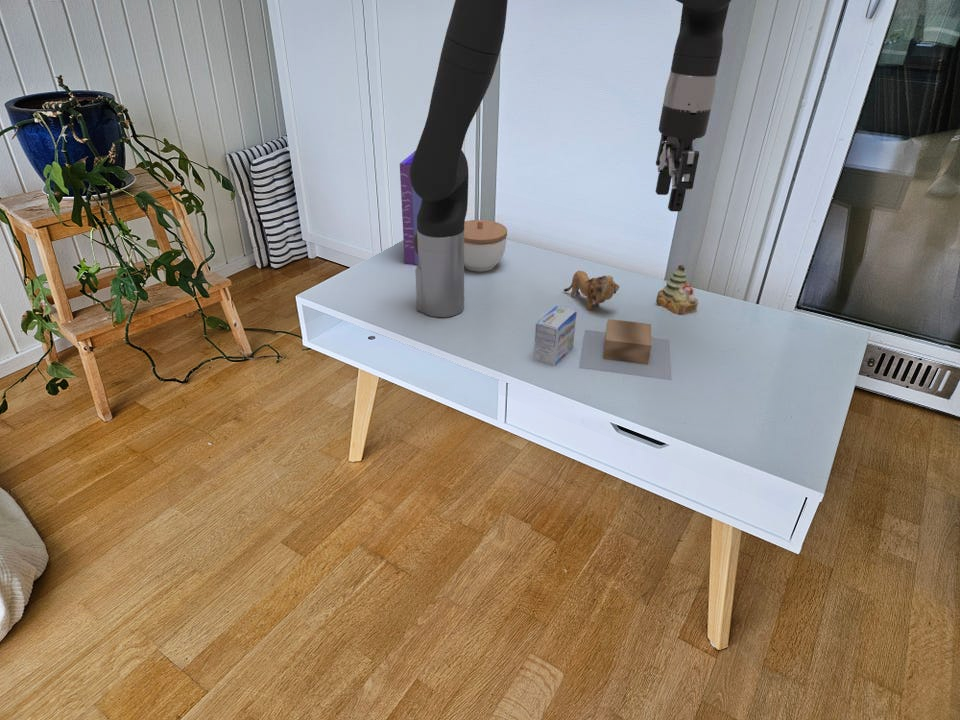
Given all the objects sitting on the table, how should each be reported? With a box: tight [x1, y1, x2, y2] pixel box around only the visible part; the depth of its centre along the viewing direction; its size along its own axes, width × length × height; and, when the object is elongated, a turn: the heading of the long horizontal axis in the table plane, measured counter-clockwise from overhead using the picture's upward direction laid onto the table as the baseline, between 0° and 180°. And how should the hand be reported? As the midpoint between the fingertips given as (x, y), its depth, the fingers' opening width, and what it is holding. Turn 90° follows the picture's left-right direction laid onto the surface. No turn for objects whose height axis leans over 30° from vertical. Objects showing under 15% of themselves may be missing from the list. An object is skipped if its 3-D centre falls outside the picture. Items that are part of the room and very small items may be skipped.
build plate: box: [578, 329, 673, 381], centre depth 117 cm, size 16×14×1 cm
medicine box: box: [533, 305, 577, 367], centre depth 115 cm, size 8×4×9 cm, turn 148°
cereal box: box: [399, 150, 422, 267], centre depth 152 cm, size 17×5×24 cm, turn 167°
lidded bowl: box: [464, 219, 508, 273], centre depth 149 cm, size 13×13×11 cm
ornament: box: [655, 264, 699, 316], centre depth 131 cm, size 8×6×10 cm
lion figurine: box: [563, 270, 621, 311], centre depth 133 cm, size 15×5×9 cm, turn 34°
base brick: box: [603, 318, 652, 365], centre depth 117 cm, size 8×8×4 cm
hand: (667, 202), depth 110 cm, fingers open, 8 cm apart
